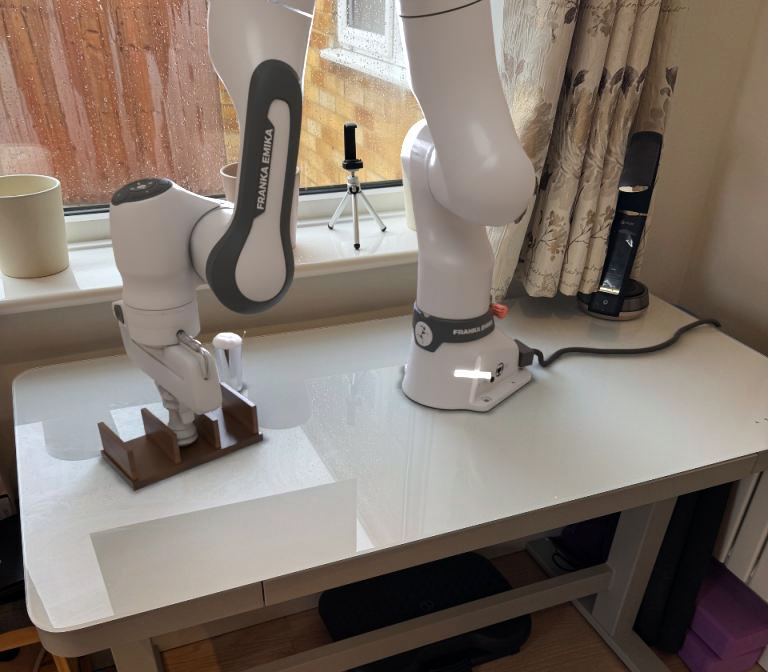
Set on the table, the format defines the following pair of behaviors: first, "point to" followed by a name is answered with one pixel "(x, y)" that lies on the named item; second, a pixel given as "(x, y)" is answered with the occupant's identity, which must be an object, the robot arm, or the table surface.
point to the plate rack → (160, 445)
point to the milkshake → (229, 358)
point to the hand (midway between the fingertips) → (178, 414)
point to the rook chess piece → (179, 422)
